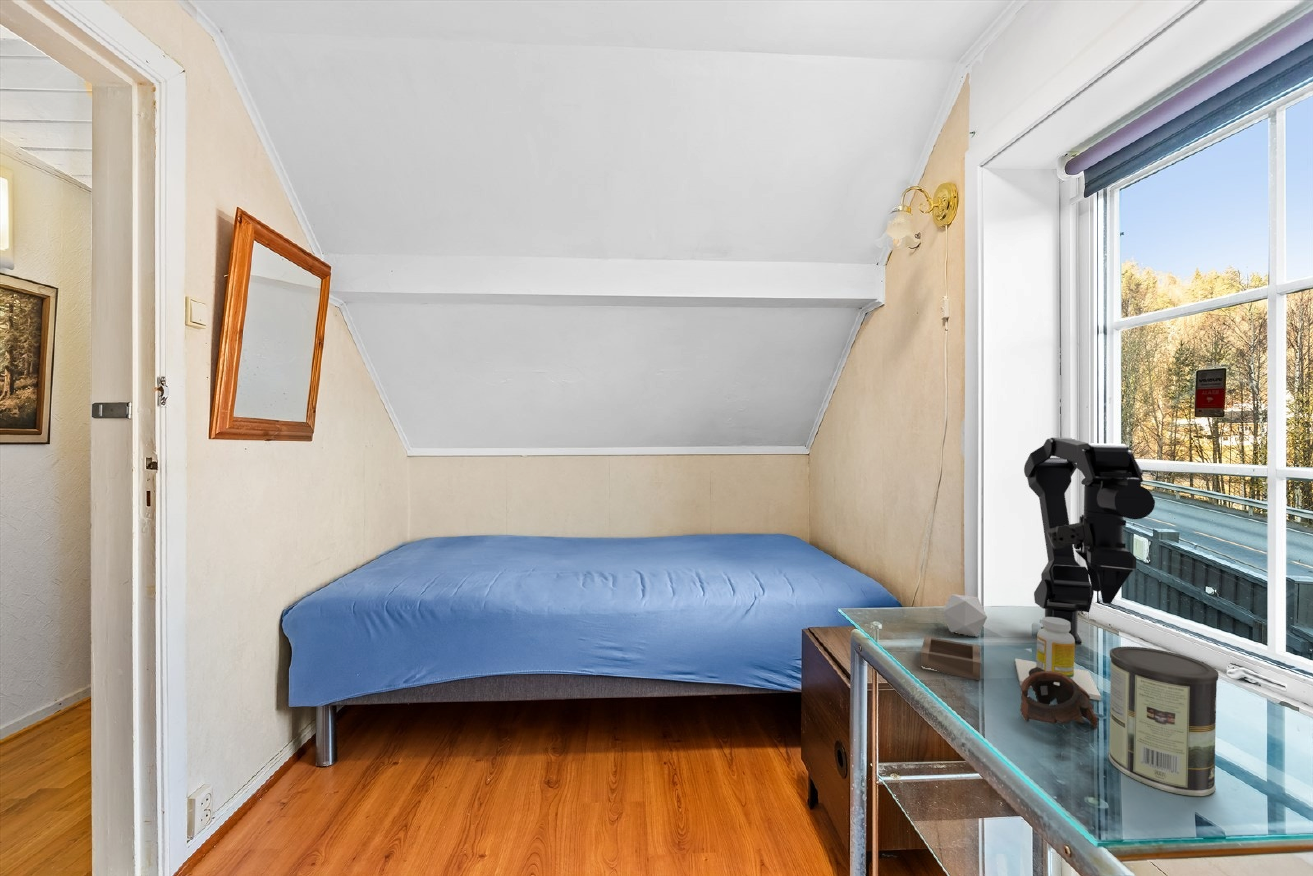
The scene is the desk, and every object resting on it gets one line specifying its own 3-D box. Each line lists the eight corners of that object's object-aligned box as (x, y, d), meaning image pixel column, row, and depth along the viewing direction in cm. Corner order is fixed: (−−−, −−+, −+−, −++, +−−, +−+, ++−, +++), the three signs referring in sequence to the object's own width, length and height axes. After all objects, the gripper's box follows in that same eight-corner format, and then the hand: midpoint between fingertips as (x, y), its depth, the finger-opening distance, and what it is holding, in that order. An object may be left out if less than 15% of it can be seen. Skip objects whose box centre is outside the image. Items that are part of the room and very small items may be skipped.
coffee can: (1182, 756, 76) (1185, 650, 76) (1237, 804, 66) (1241, 683, 66) (1092, 743, 79) (1094, 641, 79) (1131, 788, 69) (1134, 671, 69)
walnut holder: (924, 651, 111) (924, 636, 111) (979, 661, 107) (979, 645, 107) (920, 668, 103) (921, 652, 103) (980, 680, 99) (980, 663, 99)
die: (987, 633, 124) (961, 592, 129) (1003, 626, 117) (975, 582, 121) (953, 647, 124) (928, 605, 128) (967, 640, 116) (940, 595, 121)
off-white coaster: (1015, 662, 107) (1015, 658, 107) (1088, 675, 101) (1088, 671, 101) (1019, 685, 97) (1019, 680, 97) (1100, 700, 92) (1101, 695, 92)
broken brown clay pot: (1120, 743, 80) (1103, 698, 78) (1052, 766, 81) (1035, 722, 80) (1064, 684, 92) (1048, 644, 90) (1006, 705, 93) (989, 666, 91)
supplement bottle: (1030, 673, 100) (1031, 618, 100) (1044, 666, 103) (1045, 613, 103) (1066, 684, 96) (1067, 627, 95) (1079, 677, 99) (1080, 621, 98)
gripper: (1044, 503, 117) (1042, 580, 117) (1057, 514, 100) (1054, 602, 100) (1112, 507, 112) (1110, 587, 112) (1138, 519, 95) (1136, 613, 95)
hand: (1101, 596), depth 105 cm, fingers open, 9 cm apart
